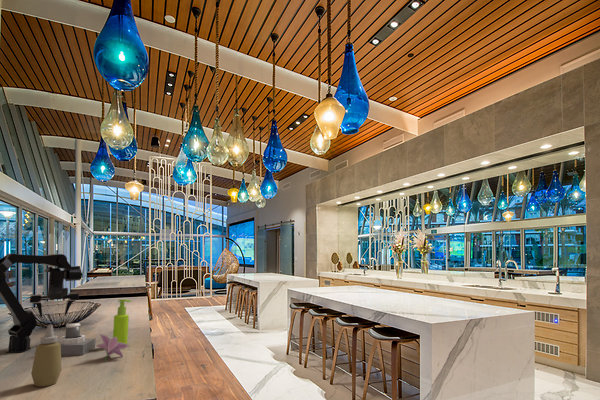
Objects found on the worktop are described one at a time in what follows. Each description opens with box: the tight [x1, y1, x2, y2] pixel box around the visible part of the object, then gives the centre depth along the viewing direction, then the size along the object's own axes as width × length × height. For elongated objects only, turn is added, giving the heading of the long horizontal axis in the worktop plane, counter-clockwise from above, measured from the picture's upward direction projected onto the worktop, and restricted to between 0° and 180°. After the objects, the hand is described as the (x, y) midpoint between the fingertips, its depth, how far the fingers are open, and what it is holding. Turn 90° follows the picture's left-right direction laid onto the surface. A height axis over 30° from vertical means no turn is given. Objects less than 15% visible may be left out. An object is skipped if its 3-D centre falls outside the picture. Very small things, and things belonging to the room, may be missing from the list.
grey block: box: [64, 322, 81, 339], centre depth 164 cm, size 5×5×7 cm
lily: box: [95, 333, 130, 362], centre depth 152 cm, size 12×12×10 cm
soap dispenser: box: [112, 299, 132, 344], centre depth 174 cm, size 6×7×20 cm
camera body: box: [57, 334, 97, 357], centre depth 163 cm, size 14×12×6 cm
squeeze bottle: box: [30, 324, 62, 387], centre depth 125 cm, size 8×8×18 cm
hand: (53, 317), depth 177 cm, fingers open, 9 cm apart
